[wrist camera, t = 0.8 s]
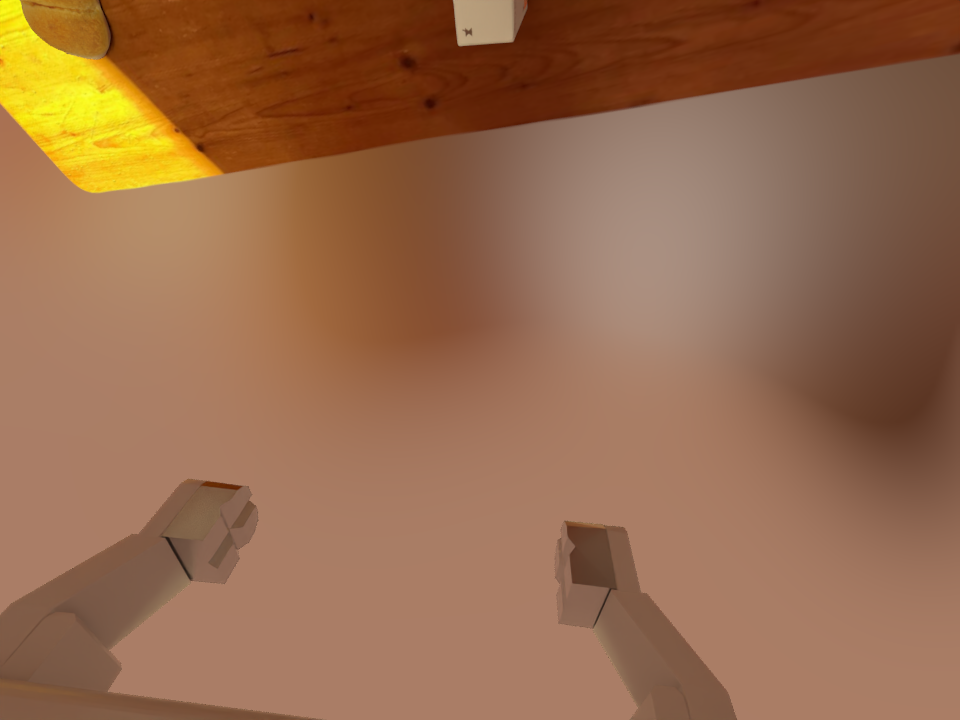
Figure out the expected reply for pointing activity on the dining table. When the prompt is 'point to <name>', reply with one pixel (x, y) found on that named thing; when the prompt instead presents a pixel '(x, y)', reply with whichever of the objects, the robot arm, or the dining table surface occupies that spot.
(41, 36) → the bread roll
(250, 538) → the robot arm
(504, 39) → the skincare box
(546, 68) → the dining table surface
